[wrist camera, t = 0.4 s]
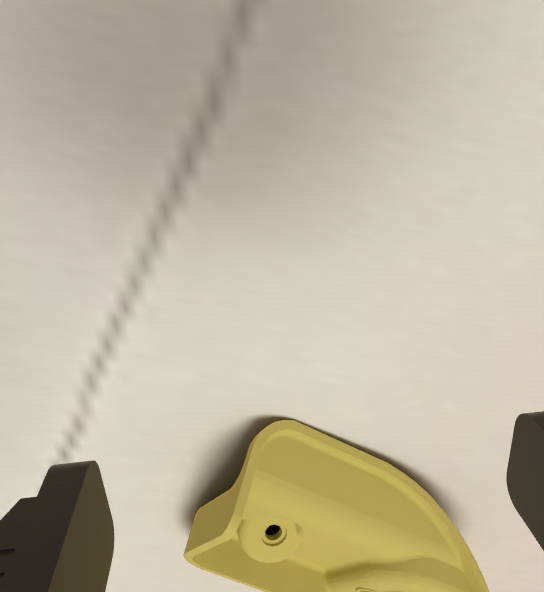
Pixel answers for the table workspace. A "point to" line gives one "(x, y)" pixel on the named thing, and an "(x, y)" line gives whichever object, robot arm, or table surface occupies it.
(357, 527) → the plastic component
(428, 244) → the table surface
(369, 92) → the table surface
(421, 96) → the table surface
